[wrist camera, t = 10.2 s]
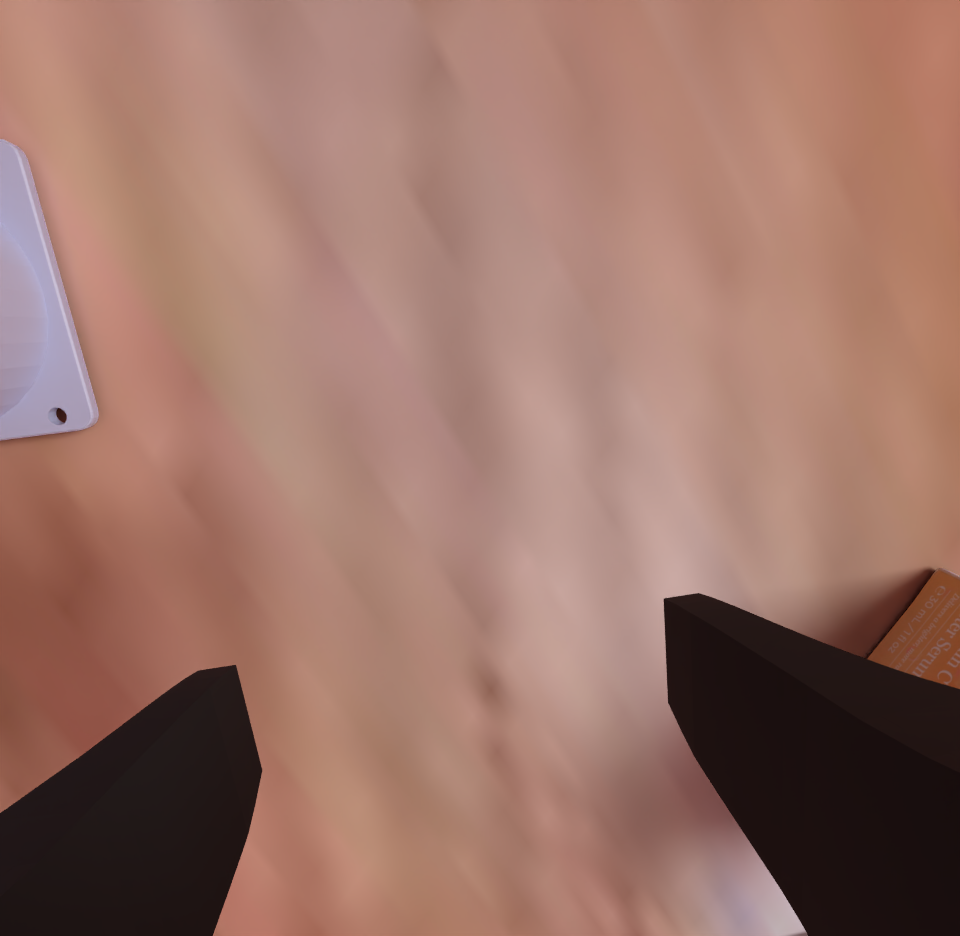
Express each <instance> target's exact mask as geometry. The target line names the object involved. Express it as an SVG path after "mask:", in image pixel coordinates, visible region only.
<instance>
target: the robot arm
mask: <svg viewBox="0 0 960 936" xmlns="http://www.w3.org/2000/svg"><path fill="white" fill-rule="evenodd" d="M58 408H61V409H62V410H64V411H65V413H66V415H67V420H66V422H65V423H63V422H62V421H60V420H59V419H58V418H57V416H56V411H57V409H58ZM98 417H99V413H98V408H97V404H96V400H95V397H94V393H93V390H92V386H91V383H90V379H89V376H88V372H87V368H86V365H85V361H84V358H83V354H82V351H81V347H80V344H79V340H78V336H77V333H76V329H75V326H74V322H73V319H72V315H71V312H70V308H69V304H68V301H67V297H66V294H65V290H64V287H63V283H62V280H61V276H60V272H59V269H58V265H57V262H56V258H55V255H54V251H53V248H52V244H51V240H50V237H49V233H48V230H47V226H46V223H45V219H44V216H43V212H42V208H41V205H40V201H39V198H38V194H37V191H36V187H35V184H34V180H33V176H32V173H31V169H30V166H29V162H28V159H27V157H26V155H25V153H24V152H23V151H22V150H21V149H20V148H19V147H18V146H16V145H14V144H12V143H10V142H8V141H6V140H3V139H0V440H8V439H16V438H23V437H31V436H39V435H47V434H55V433H63V432H70V431H78V430H83V429H86V428H89V427H92V426H93V425H94V424H95V423H96V422H97V420H98ZM664 617H665V640H666V664H667V687H668V703H669V705H670V708H671V710H672V712H673V714H674V716H675V718H676V720H677V722H678V725H679V727H680V729H681V731H682V733H683V735H684V737H685V739H686V741H687V743H688V745H689V747H690V749H691V751H692V753H693V755H694V757H695V758H696V760H697V762H698V763H699V765H700V766H701V768H702V769H703V771H704V773H705V774H706V776H707V777H708V779H709V780H710V782H711V783H712V785H713V786H714V788H715V790H716V791H717V793H718V794H719V796H720V797H721V799H722V800H723V802H724V803H725V805H726V806H727V808H728V810H729V811H730V813H731V814H732V816H733V817H734V819H735V820H736V822H737V823H738V825H739V826H740V828H741V829H742V831H743V832H744V834H745V835H746V837H747V838H748V840H749V841H750V843H751V844H752V846H753V848H754V849H755V851H756V852H757V854H758V855H759V857H760V858H761V860H762V861H763V863H764V864H765V866H766V867H767V869H768V870H769V872H770V873H771V875H772V876H773V878H774V879H775V881H776V883H777V884H778V886H779V887H780V889H781V890H782V892H783V893H784V895H785V897H786V898H787V900H788V902H789V903H790V905H791V907H792V908H793V910H794V912H795V913H796V915H797V917H798V918H799V920H800V921H801V923H802V925H803V927H804V929H805V930H806V932H807V934H808V936H960V689H958V688H955V687H951V686H948V685H945V684H941V683H938V682H934V681H931V680H928V679H924V678H921V677H918V676H915V675H911V674H908V673H905V672H902V671H899V670H896V669H893V668H890V667H887V666H885V665H882V664H879V663H876V662H874V661H871V660H868V659H865V658H862V657H860V656H857V655H854V654H851V653H849V652H846V651H843V650H840V649H838V648H835V647H833V646H830V645H828V644H825V643H822V642H820V641H817V640H815V639H812V638H810V637H807V636H805V635H802V634H800V633H797V632H795V631H793V630H790V629H788V628H785V627H783V626H781V625H778V624H776V623H773V622H771V621H769V620H766V619H764V618H761V617H759V616H757V615H754V614H752V613H750V612H747V611H745V610H742V609H740V608H738V607H735V606H733V605H730V604H728V603H725V602H723V601H720V600H717V599H715V598H712V597H709V596H706V595H703V594H699V593H697V594H690V595H684V596H677V597H671V598H665V599H664ZM261 774H262V767H261V763H260V759H259V755H258V751H257V747H256V743H255V739H254V735H253V731H252V727H251V723H250V719H249V715H248V711H247V707H246V703H245V699H244V695H243V691H242V687H241V683H240V679H239V675H238V671H237V667H236V665H232V666H226V667H219V668H213V669H206V670H200V671H197V672H195V673H194V674H192V675H190V676H189V677H187V678H185V679H184V680H182V681H181V682H180V683H178V684H177V685H175V686H174V687H172V688H171V689H170V690H168V691H167V692H166V693H164V694H163V695H161V696H160V697H159V698H157V699H156V700H155V701H153V702H152V703H151V704H149V705H148V706H147V707H145V708H144V709H143V710H141V711H140V712H139V713H137V714H136V715H135V716H134V717H132V718H131V719H130V720H128V721H127V722H126V723H124V724H123V725H122V726H120V727H119V728H118V729H116V730H115V731H114V732H112V733H111V734H110V735H108V736H107V737H106V738H104V739H103V740H102V741H100V742H99V743H98V744H96V745H95V746H94V747H92V748H91V749H90V750H88V751H87V752H86V753H84V754H83V755H82V756H80V757H79V758H78V759H76V760H75V761H73V762H72V763H70V764H69V765H68V766H66V767H65V768H63V769H62V770H61V771H59V772H58V773H56V774H55V775H54V776H52V777H51V778H49V779H48V780H47V781H45V782H44V783H42V784H41V785H39V786H38V787H37V788H35V789H34V790H32V791H31V792H30V793H28V794H27V795H25V796H24V797H23V798H21V799H20V800H18V801H17V802H16V803H14V804H13V805H11V806H10V807H9V808H7V809H6V810H4V811H3V812H1V813H0V936H213V933H214V930H215V928H216V925H217V922H218V919H219V916H220V914H221V911H222V908H223V905H224V902H225V900H226V897H227V894H228V891H229V888H230V886H231V883H232V880H233V877H234V874H235V871H236V868H237V866H238V863H239V860H240V857H241V854H242V851H243V848H244V845H245V842H246V839H247V836H248V833H249V829H250V824H251V820H252V816H253V812H254V807H255V803H256V798H257V793H258V788H259V783H260V779H261Z"/></svg>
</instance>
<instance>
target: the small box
mask: <svg viewBox="0 0 960 936" xmlns="http://www.w3.org/2000/svg"><path fill="white" fill-rule="evenodd" d="M867 659H868V660H871V661H874V662H876V663H879V664H882V665H885V666H887V667H890V668H893V669H896V670H899V671H902V672H905V673H908V674H911V675H915V676H918V677H921V678H924V679H928V680H931V681H934V682H938V683H941V684H945V685H948V686H951V687H955V688H958V689H960V576H959V575H957V574H955V573H953V572H951V571H948V570H946V569H944V568H939V569H937V570H936V571H935V572H934V573H933V575H932V576H931V578H930V579H929V581H928V582H927V583H926V585H925V586H924V587H923V589H922V590H921V592H920V593H919V595H918V596H917V597H916V599H915V600H914V601H913V603H912V604H911V605H910V606H909V608H908V609H907V610H906V612H905V613H904V614H903V615H902V616H901V618H900V619H899V620H898V621H897V623H896V624H895V625H894V626H893V628H892V629H891V630H890V631H889V633H888V634H887V635H886V636H885V637H884V639H883V640H882V641H881V642H880V644H879V645H878V646H877V647H876V649H875V650H874V651H873V652H872V653H871V655H870V656H869V657H868V658H867Z"/></svg>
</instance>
